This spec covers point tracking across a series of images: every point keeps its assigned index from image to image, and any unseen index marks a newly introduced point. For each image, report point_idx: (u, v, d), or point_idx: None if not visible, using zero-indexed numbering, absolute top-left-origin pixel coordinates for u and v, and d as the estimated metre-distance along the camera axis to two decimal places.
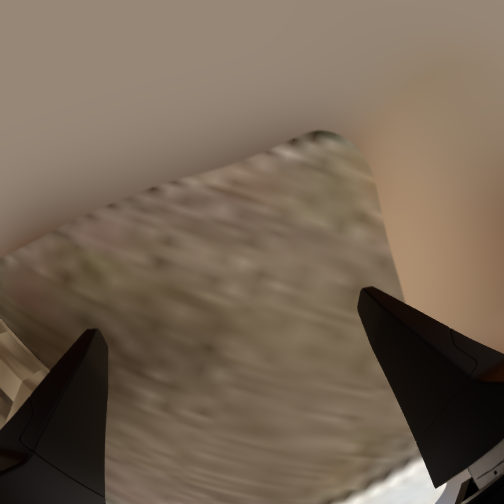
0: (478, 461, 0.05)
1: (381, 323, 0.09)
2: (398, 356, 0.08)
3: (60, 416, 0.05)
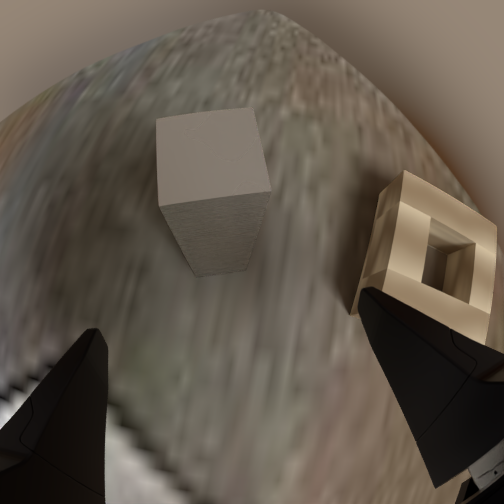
0: (478, 461, 0.05)
1: (381, 323, 0.09)
2: (398, 356, 0.08)
3: (60, 416, 0.05)
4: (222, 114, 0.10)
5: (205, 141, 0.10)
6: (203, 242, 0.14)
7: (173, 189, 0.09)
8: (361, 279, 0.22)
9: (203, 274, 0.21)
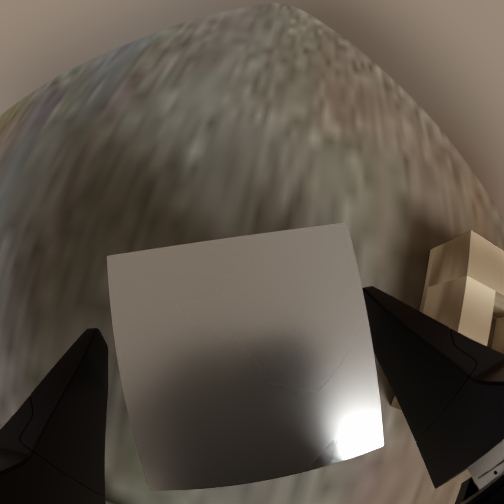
0: (478, 461, 0.05)
1: (381, 323, 0.09)
2: (398, 356, 0.08)
3: (60, 416, 0.05)
4: (277, 249, 0.04)
5: (239, 338, 0.04)
6: None
7: (174, 462, 0.03)
8: None
9: None
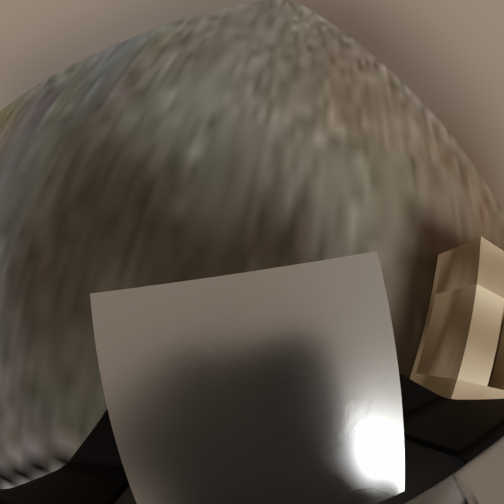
0: None
1: None
2: None
3: None
4: (296, 286, 0.03)
5: (251, 393, 0.03)
6: None
7: None
8: (414, 373, 0.16)
9: None
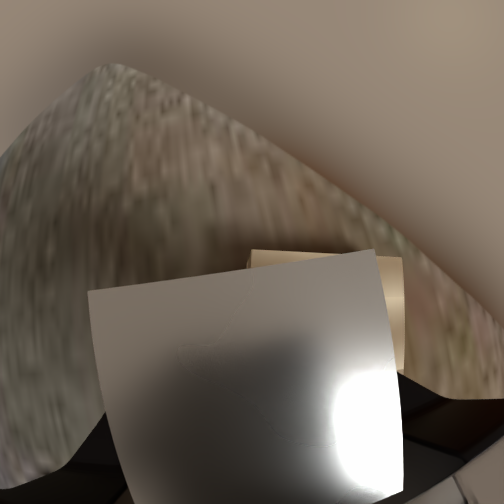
0: None
1: None
2: None
3: None
4: (293, 284, 0.03)
5: (247, 390, 0.03)
6: None
7: None
8: None
9: None
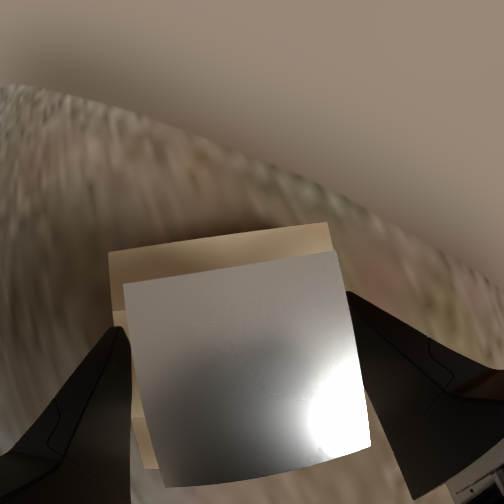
0: (455, 476, 0.05)
1: (356, 330, 0.09)
2: (373, 364, 0.08)
3: (89, 418, 0.06)
4: (273, 276, 0.05)
5: (240, 354, 0.05)
6: None
7: (186, 461, 0.04)
8: None
9: None
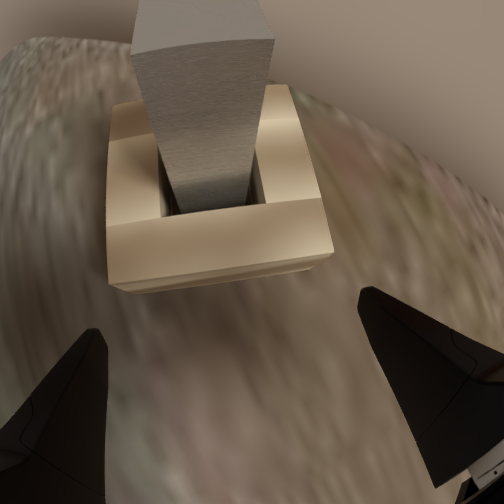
0: (478, 461, 0.05)
1: (381, 323, 0.09)
2: (398, 356, 0.08)
3: (60, 416, 0.05)
4: None
5: (194, 5, 0.06)
6: (189, 146, 0.10)
7: (151, 39, 0.06)
8: None
9: None
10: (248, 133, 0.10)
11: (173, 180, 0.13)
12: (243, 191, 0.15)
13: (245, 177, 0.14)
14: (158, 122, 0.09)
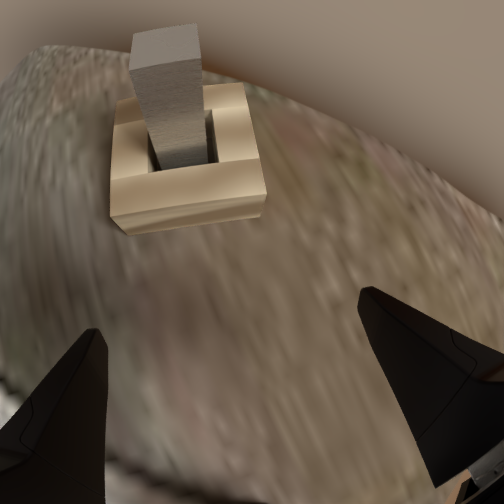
0: (478, 461, 0.05)
1: (381, 323, 0.09)
2: (398, 356, 0.08)
3: (60, 416, 0.05)
4: (176, 28, 0.13)
5: (162, 40, 0.13)
6: (163, 121, 0.17)
7: (139, 62, 0.12)
8: None
9: None
10: (198, 112, 0.16)
11: (155, 146, 0.19)
12: (204, 155, 0.21)
13: (203, 144, 0.20)
14: (144, 106, 0.15)
